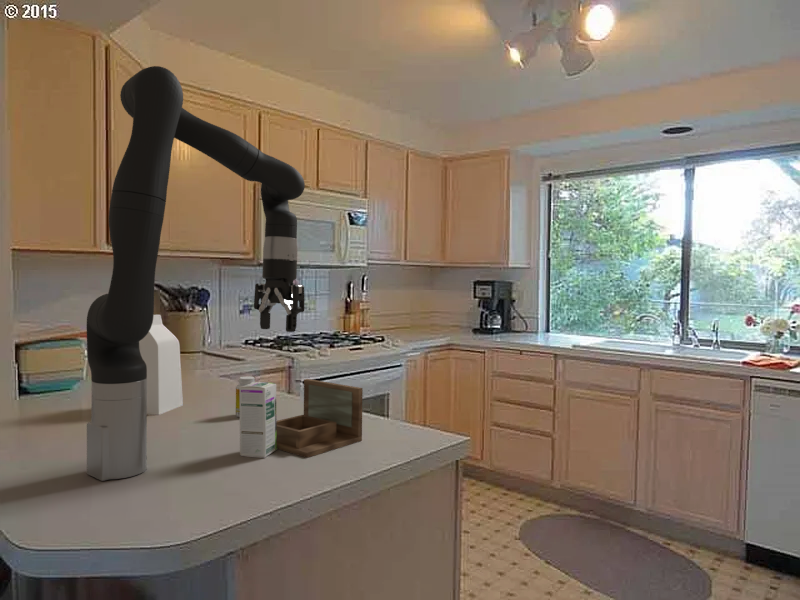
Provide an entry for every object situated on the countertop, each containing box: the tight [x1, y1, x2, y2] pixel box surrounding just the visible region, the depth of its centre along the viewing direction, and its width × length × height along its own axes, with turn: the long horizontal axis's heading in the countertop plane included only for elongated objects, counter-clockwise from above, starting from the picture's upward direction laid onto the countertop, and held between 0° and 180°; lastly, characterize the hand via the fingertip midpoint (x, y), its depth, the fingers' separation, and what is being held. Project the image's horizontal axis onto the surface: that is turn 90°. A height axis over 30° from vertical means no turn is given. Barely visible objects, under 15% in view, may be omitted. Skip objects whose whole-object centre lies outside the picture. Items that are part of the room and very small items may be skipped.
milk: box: [139, 314, 184, 416], centre depth 158 cm, size 12×12×26 cm
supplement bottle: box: [235, 375, 256, 418], centre depth 152 cm, size 6×6×10 cm
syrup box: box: [239, 381, 278, 459], centre depth 119 cm, size 6×6×14 cm
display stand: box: [276, 378, 364, 459], centre depth 129 cm, size 17×18×12 cm
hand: (277, 330), depth 129 cm, fingers open, 8 cm apart
